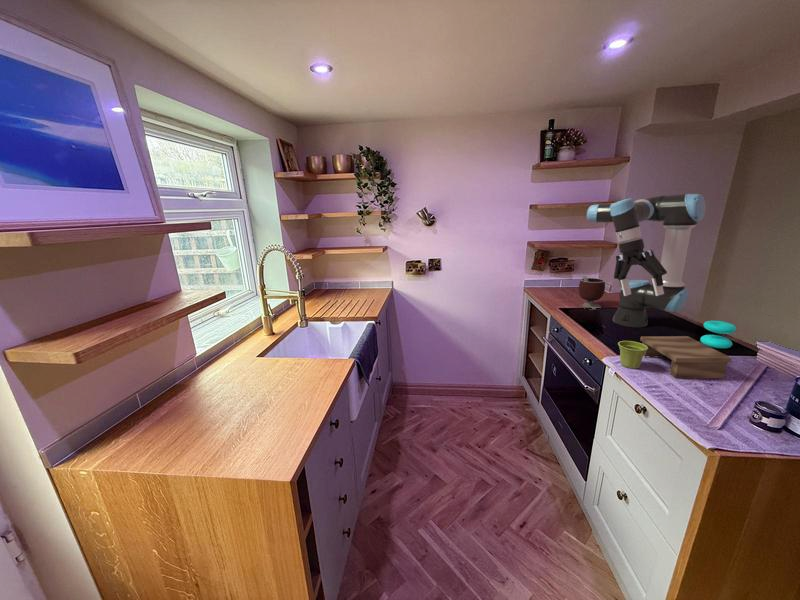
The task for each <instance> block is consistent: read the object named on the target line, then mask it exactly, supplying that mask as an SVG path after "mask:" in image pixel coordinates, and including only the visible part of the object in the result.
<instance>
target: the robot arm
mask: <svg viewBox="0 0 800 600" xmlns="http://www.w3.org/2000/svg"><path fill="white" fill-rule="evenodd" d="M706 209H707V207H706V200H705V198H704V196H703V195H702V194H699V193H684V194H670V195H669V194H667V195H658V196H652V197H647V198H642V199H641V198H640V199H637V200H634V199H633V198H631V197H629V198H626V199H622V200H619V201H616V202H614V203H600V204H592V205H590V206H589V207H588V208H587V211H586V219H587V221H588V222H590V223H596V224H597V223H612V224H613V227H614V232H615V236H616V241H617V243H618V249H619V252H620V253H621V254H620V255H617V256H615V262H616V263H615V269H614V274H613V278H614V279H616V280H618V281H619V284H620V293H619V301H618V302H619V303H618V306H617V307H618V308H617V310H616V311H615V313H614V314H613V317H612V322H613V323H614V324H617V325H619V326H623V327H628V328H629V327H630V328H644V327H647V326H648V322H649V320H648V316H647V312H646V311H647V310H646V309H647V308H650V309H654V310H661V311H664V312H671V313H677V312H680V311H681V310H682V309H683V307H685V305H686V303H687V301H688V299H689V295H690V290H689V289H687V288H685V285H686V284H685V283H684V282H683V281H682V279H683V274H684V269H685V264H686V259H687V252H688V247H689V242H690V237H691V232H692V229H693V228H695V227H696V226H697V225H698V222H702V220H703V219H704V217H705V215H706ZM645 221H650V222H662V226H663V228H664V229H665V233H664V234H665V236H664V242H663V247H662V253H661V259H660V260H658V258H657V257H656V256H655V254H654V250H652V249H650V250H647V251H644V249H645V243H644V240H643V233H642V231H641V227H640V222H641V223H642V222H645ZM632 266H640V267H642V268H643V269H644V270H645V271H647V273H649V274H650V276H652V277H651V281H652V284H651V281H650V280H646V279H630V280H629V279H628V277H627V275H628V273H629V271H630V270H631V267H632Z"/></svg>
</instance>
